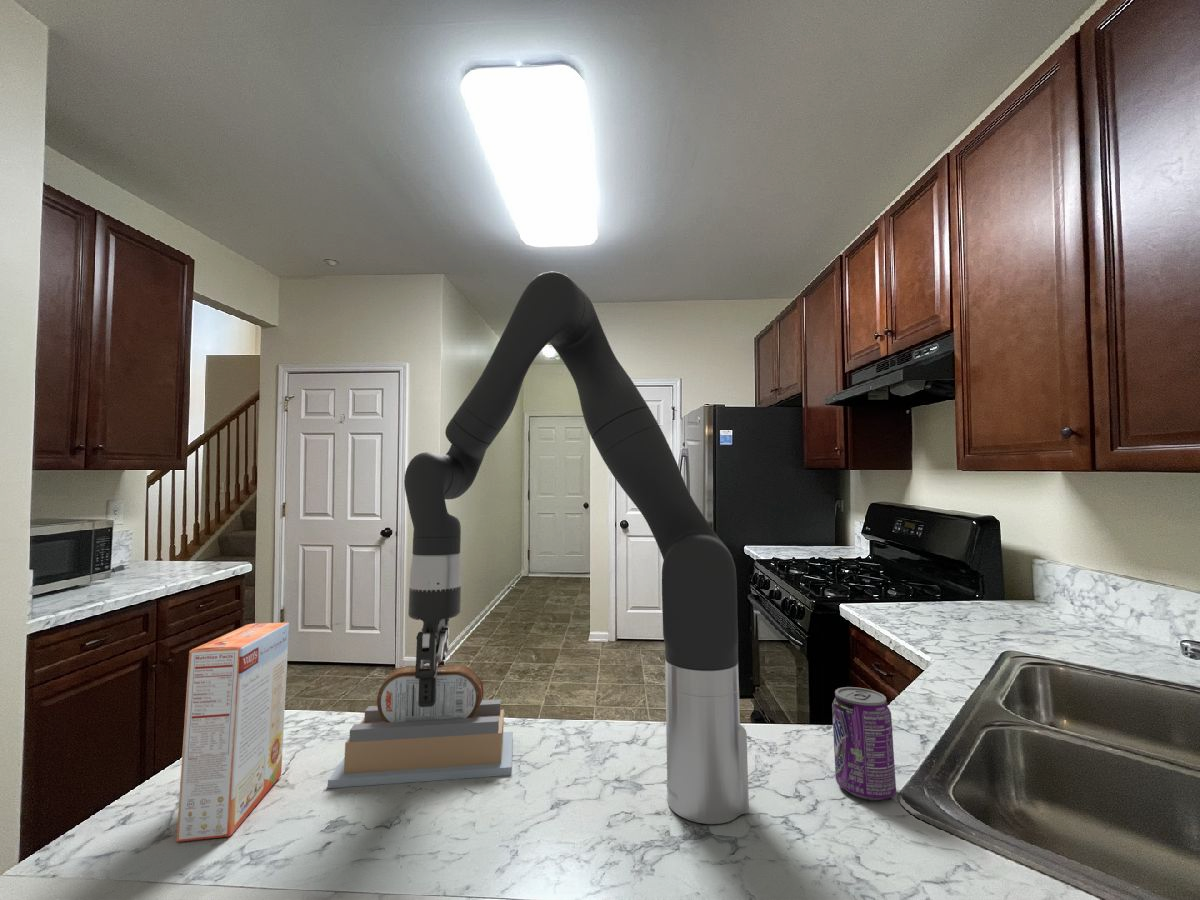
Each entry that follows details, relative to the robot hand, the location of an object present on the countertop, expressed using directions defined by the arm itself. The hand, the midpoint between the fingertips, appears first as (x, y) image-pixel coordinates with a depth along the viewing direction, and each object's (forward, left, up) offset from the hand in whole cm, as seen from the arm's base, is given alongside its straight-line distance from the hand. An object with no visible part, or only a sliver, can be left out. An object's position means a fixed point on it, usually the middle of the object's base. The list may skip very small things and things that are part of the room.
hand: (431, 695), depth 78 cm
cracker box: (+22, +9, -9) cm, 26 cm away
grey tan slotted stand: (0, 0, -9) cm, 9 cm away
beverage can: (-58, +17, -9) cm, 61 cm away
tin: (0, 0, -4) cm, 4 cm away
